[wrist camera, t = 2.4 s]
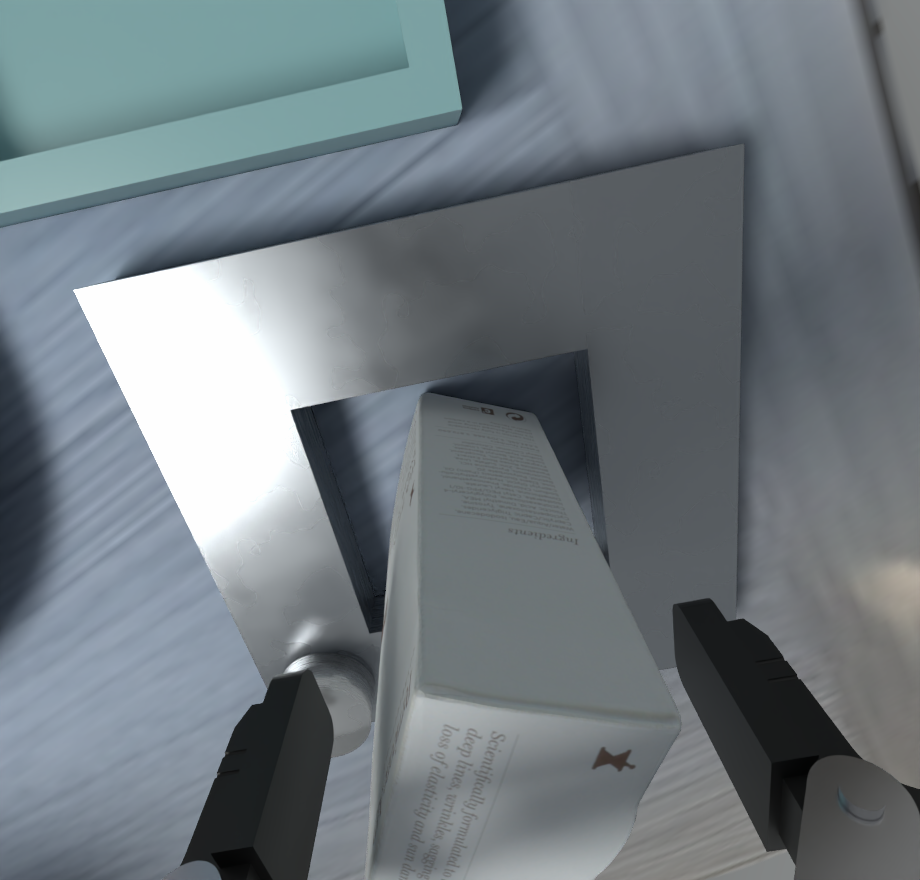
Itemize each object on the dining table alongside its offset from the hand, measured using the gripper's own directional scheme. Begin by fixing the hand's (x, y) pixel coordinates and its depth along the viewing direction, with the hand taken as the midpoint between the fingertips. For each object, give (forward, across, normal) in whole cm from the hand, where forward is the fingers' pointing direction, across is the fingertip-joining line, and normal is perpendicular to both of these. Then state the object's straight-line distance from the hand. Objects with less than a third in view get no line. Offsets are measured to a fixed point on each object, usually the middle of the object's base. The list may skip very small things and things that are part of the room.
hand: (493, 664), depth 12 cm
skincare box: (+9, 0, 0) cm, 9 cm away
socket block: (+9, 0, 0) cm, 9 cm away
